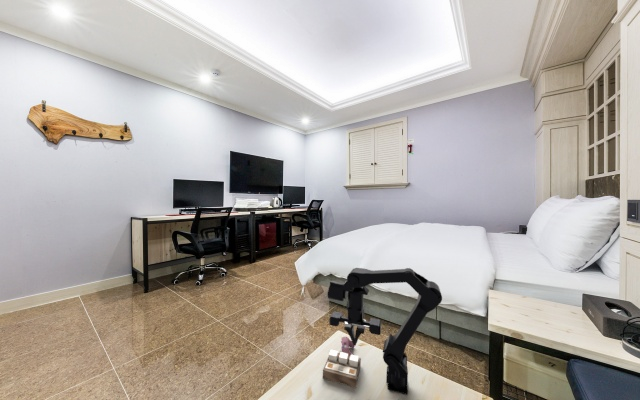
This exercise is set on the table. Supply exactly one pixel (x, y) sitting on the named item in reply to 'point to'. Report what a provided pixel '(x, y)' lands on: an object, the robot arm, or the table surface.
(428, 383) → the table surface
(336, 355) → the key
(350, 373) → the keypad
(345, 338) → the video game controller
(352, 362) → the key
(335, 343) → the table surface
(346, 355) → the key middle
